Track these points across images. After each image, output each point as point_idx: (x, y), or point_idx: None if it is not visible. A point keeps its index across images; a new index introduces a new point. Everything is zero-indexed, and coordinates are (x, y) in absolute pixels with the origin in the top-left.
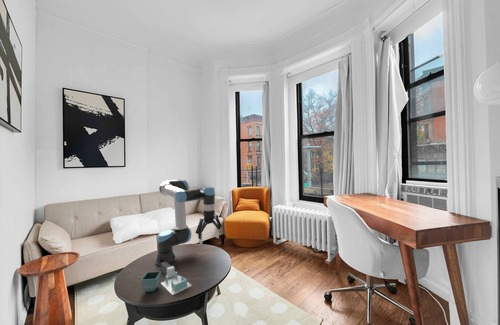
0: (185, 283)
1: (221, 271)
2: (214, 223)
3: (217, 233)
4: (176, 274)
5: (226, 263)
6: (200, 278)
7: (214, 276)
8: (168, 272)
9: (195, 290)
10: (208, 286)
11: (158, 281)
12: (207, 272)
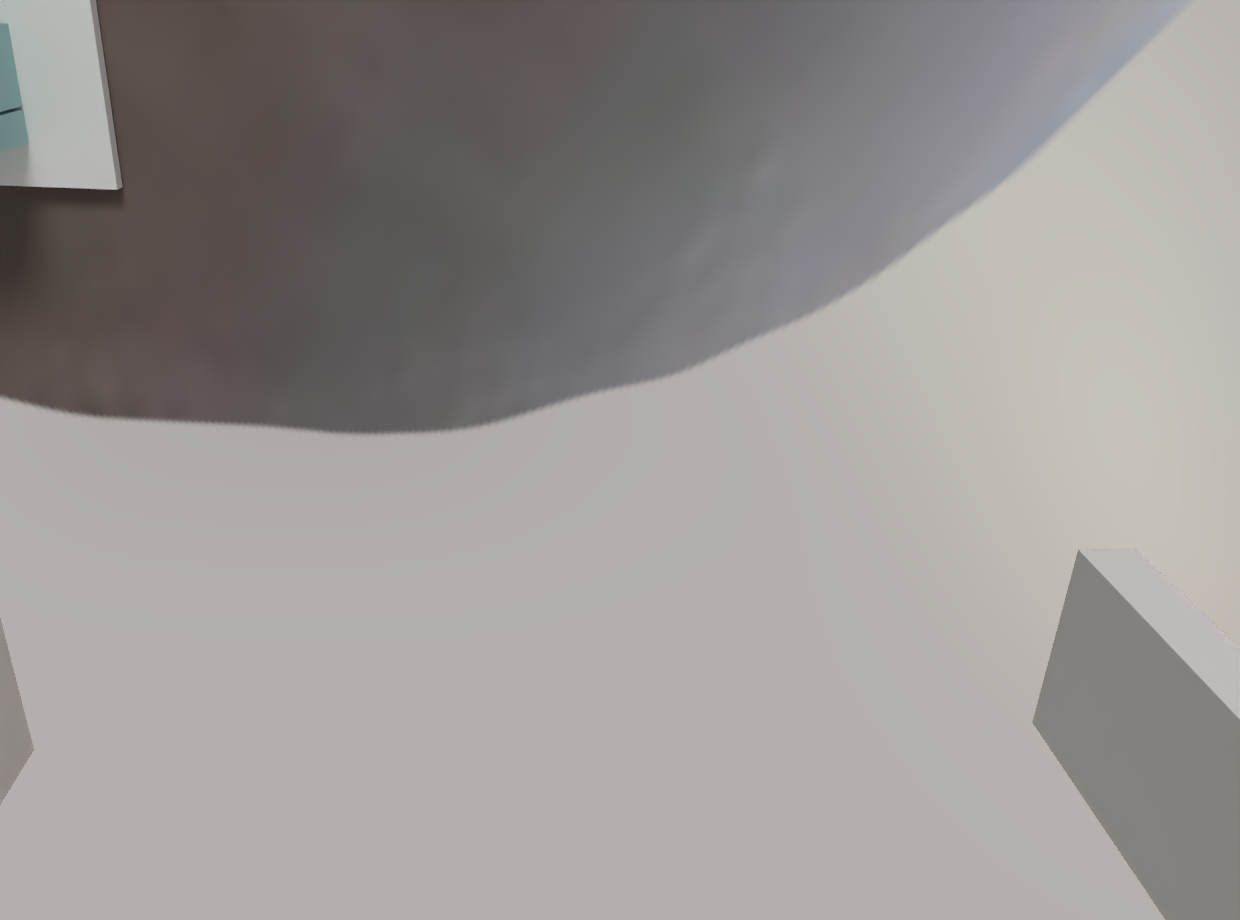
0: None
1: (828, 215)
2: None
3: (1188, 895)
4: None
5: (1140, 34)
6: (381, 94)
7: (619, 253)
8: None
9: (122, 353)
10: (355, 420)
11: None
12: (620, 9)
